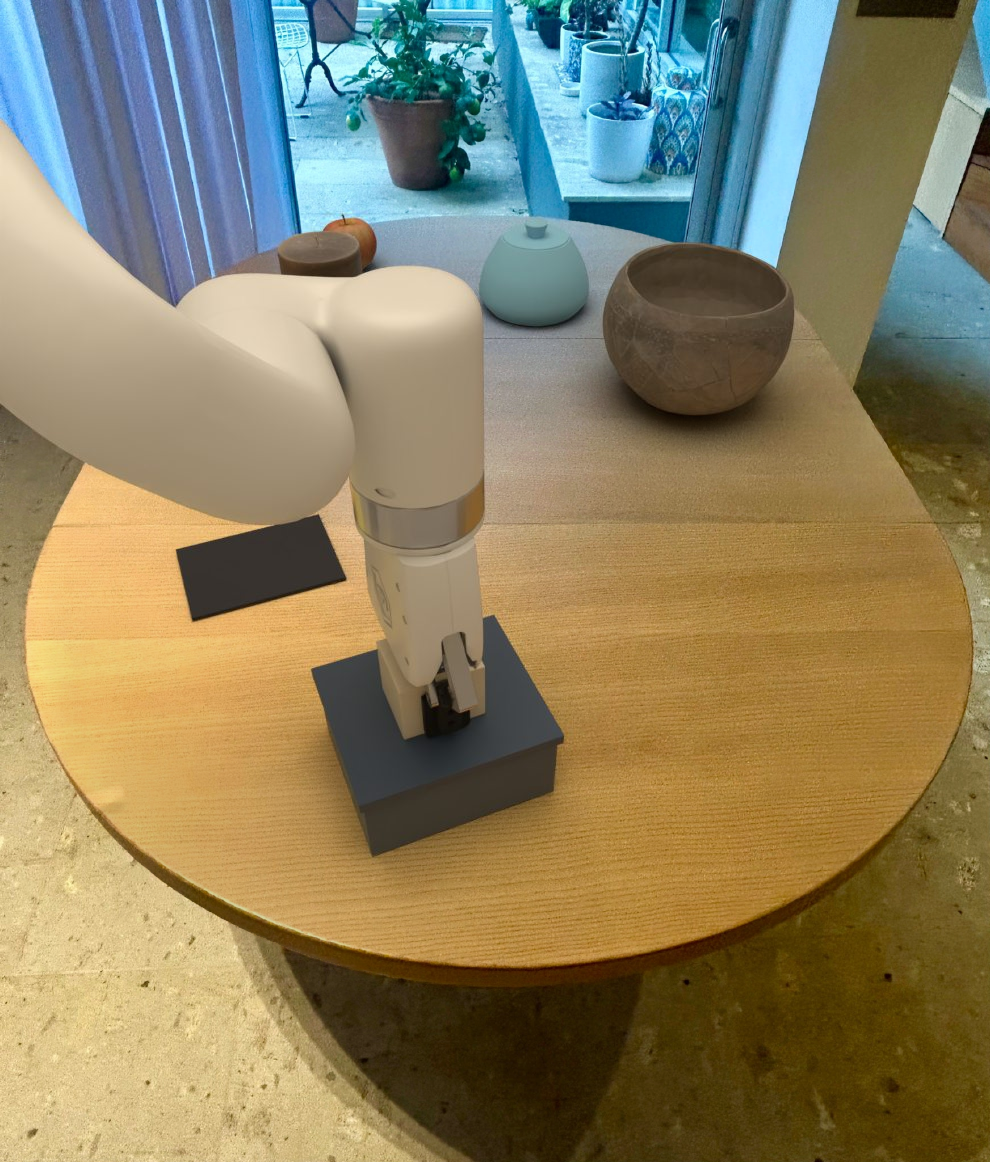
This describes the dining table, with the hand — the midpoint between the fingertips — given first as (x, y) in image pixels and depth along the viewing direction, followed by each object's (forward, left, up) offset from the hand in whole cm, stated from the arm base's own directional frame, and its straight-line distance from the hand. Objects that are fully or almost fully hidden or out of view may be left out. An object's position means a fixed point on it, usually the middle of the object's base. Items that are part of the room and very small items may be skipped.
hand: (433, 696), depth 63 cm
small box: (0, 0, 0) cm, 0 cm away
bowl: (+45, +38, -8) cm, 59 cm away
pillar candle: (+9, +64, -8) cm, 65 cm away
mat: (-8, +27, -7) cm, 29 cm away
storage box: (0, 0, -7) cm, 7 cm away
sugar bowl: (+38, +66, -8) cm, 77 cm away
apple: (+18, +87, -8) cm, 89 cm away
